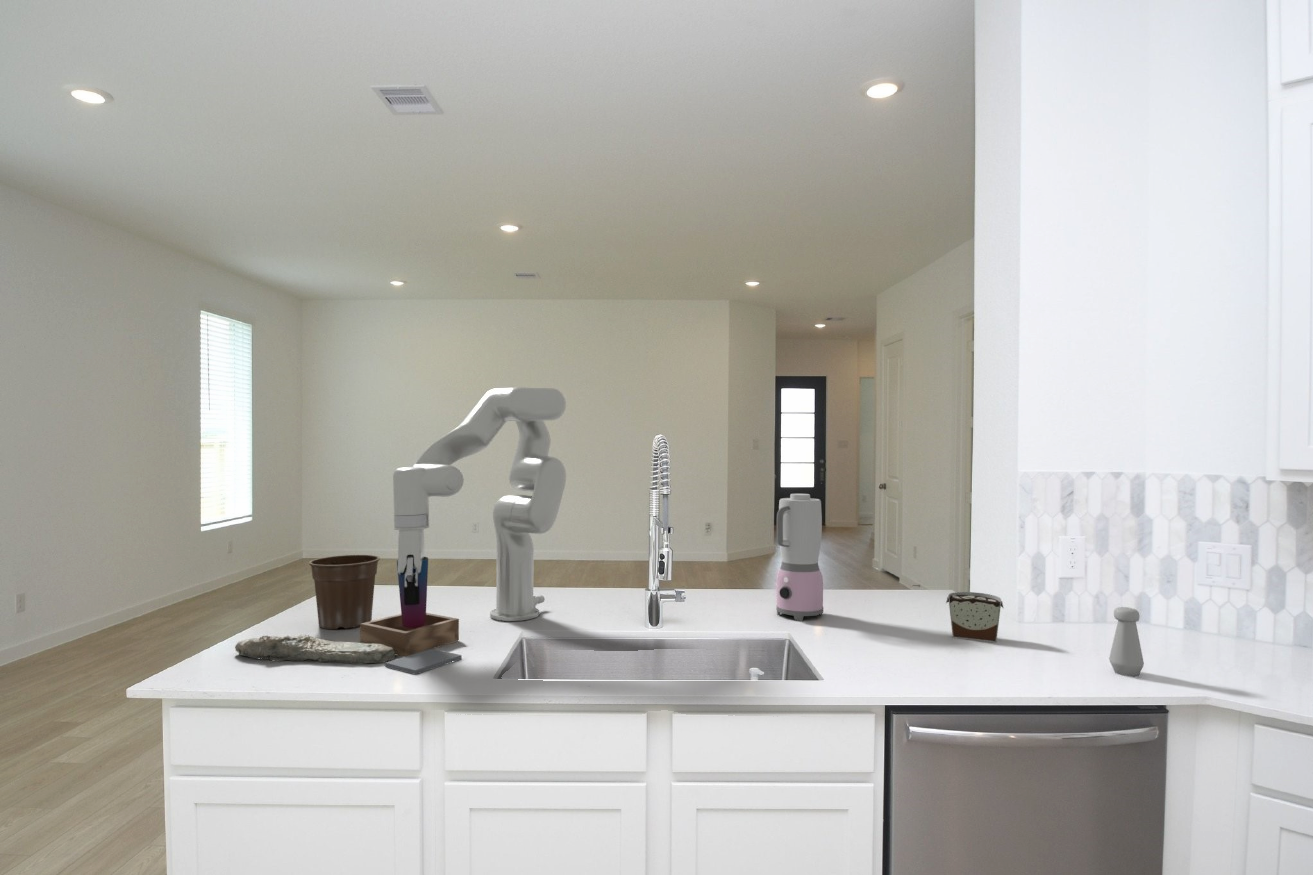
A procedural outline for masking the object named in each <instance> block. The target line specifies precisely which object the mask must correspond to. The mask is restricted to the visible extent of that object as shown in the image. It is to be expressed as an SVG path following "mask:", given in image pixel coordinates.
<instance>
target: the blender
mask: <svg viewBox="0 0 1313 875" xmlns="http://www.w3.org/2000/svg"><path fill="white" fill-rule="evenodd" d="M778 503H779V504H778V510H777V512H776V544H778V546H779V551H780V555H781V558H780V559H781V565H780V567H779V569H778V572H777V574H776V575H777V576H776V605H775V606H776V615H777V616H778V615H780V616H781V614H783V615H787V616H788V615H789V616H793V618H794V619H796V620H795V621H798V620H802V621H803V620H804V617H813V616H818V615H819V614H820V615H819V616H823V613H824V578H823V574H822V571H821V570H820V567H819V556H820V554H821V553H820V552H821V551H820V550H821V545H822V537H823V535H822V534H823V533H822V532H823V528H822V527H823V524H822V523H823V519H822V518H823V516H822V515H823V514H822V501H821V499H819V498H811V494H809V493H790V495H789V497H784V498H780V499H779V502H778Z"/></svg>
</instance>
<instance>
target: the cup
mask: <svg viewBox="0 0 1313 875" xmlns="http://www.w3.org/2000/svg"><path fill="white" fill-rule="evenodd" d="M406 567H407V565H406ZM413 567H414V563H413ZM396 569H397V571H398V558H397V559H396ZM413 572H416V569H413ZM428 572H429V557H427V556H424V560H422V568H421V572H420V573H419V574H418V586H419V594H420V603H419V604H417V605H405V604H404V587H405V569H404V572H403V573H402V574H401V575H400V574H398V573H397V580H398V581H397V582H398V591H399V600H400V601H399V602H400V603H399V604H400V612H401V613H400V614H401V615H402V626H403V627H405V628H416V627H421V626H424V625H425V624H426V613H427V600H428V599H427V598H428V577H429V576H428ZM414 577H415V576H414Z"/></svg>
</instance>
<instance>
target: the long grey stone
mask: <svg viewBox="0 0 1313 875" xmlns="http://www.w3.org/2000/svg"><path fill="white" fill-rule="evenodd" d="M234 649H235V652H236V653H238V655H239V656H243V657H248V658H250V659H251V658H252V659H255V658H260V659H259V660H268V659H269V661H271V660H280V661H279V662H282V661H281V660H283V661H292V662H295V660H296V661H300V662H302V661H306V660H313V661H318V662H320V663H324V662H325V663H326V662H338V663H342V664H354V663H363V664H379V663H380V664H383V663H386V661H388V662H389V661H390V660H391V661H393V660H394V658H395V656H396V655H394V653H395V652H394V649H393V648H392V647H388V646H385V645H383V644H373V643H372V644H367V643H360V642H355V641H334V640H333V641H331V640H328V639H322V638H318V637H314V636H310V635H308V634H300V635H299V636H297V635H294V636H293V635H286V636H275V635H272V636H269V635H262V636H260V637H259V638H257V637H256V638H255V637H253V638H249V639H244V640H243V639H242V640H239V641H238V642H237V643H236V644H235V646H234ZM261 658H262V659H261Z"/></svg>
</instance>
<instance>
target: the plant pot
mask: <svg viewBox="0 0 1313 875" xmlns="http://www.w3.org/2000/svg"><path fill="white" fill-rule="evenodd" d="M380 559H381V558H380V556H378V555H373V554H345V555H335V556H334V555H333V556H325V557H320V558H315V559H312V560H310V561H309V562H308V563H309V566H311V567H310V568H311V576H312V579H313V581H314V583H313V584H314V591H315V600H316V610H317V619H318V621H317V622H318V626H319V627H320V628H322V629H326V630H337V629H339V628H344V629H353V628H360V624H361V623H365V622H369V621H373V620H372V618H373V606H374V596H375V595H374V593H375V592H374V591H375V582H376V575H377V573H378V565H379V564H378V563H379V561H380Z"/></svg>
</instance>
